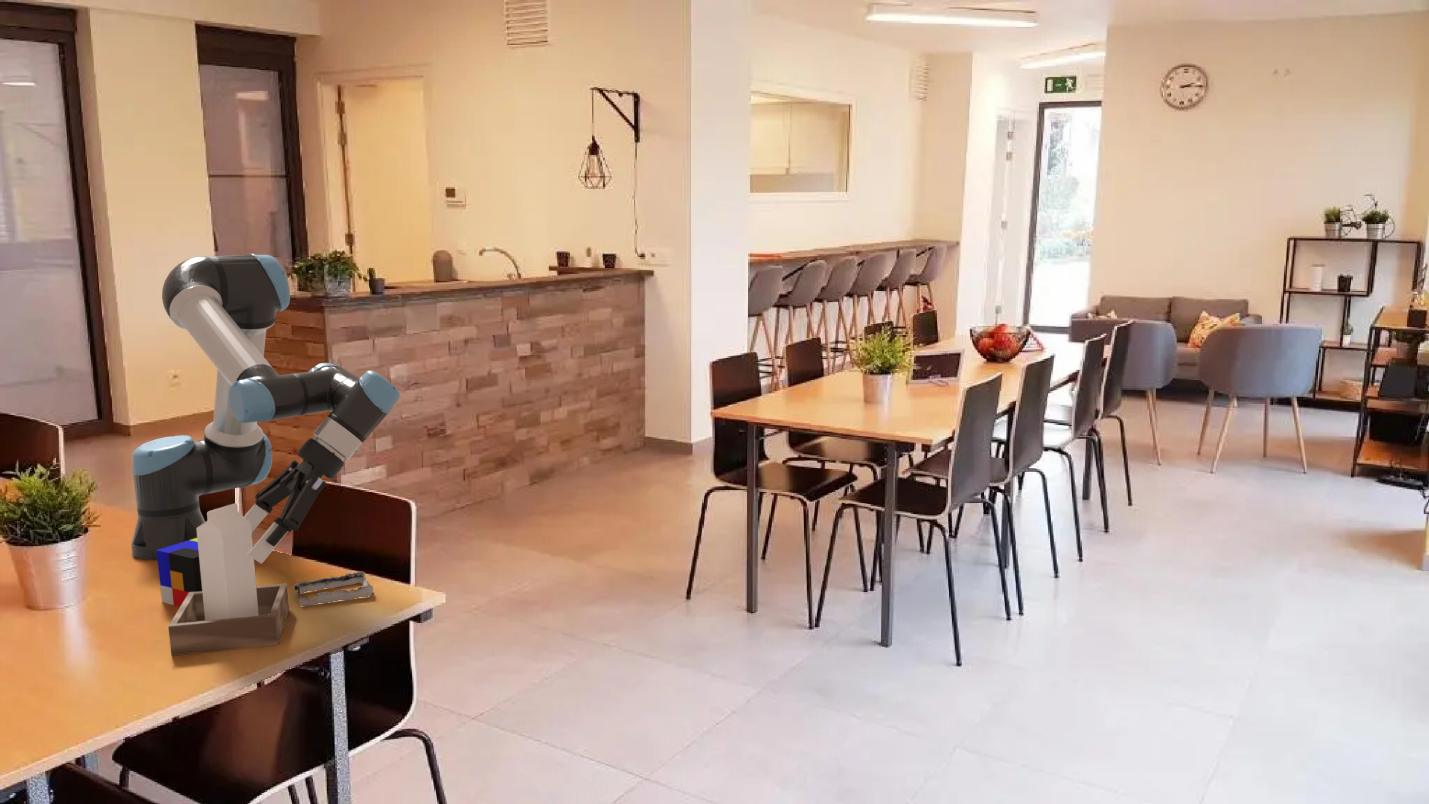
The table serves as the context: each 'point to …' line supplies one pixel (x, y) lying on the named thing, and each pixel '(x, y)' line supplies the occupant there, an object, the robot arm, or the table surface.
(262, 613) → the walnut box
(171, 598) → the puzzle toy
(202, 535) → the milk
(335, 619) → the table surface
